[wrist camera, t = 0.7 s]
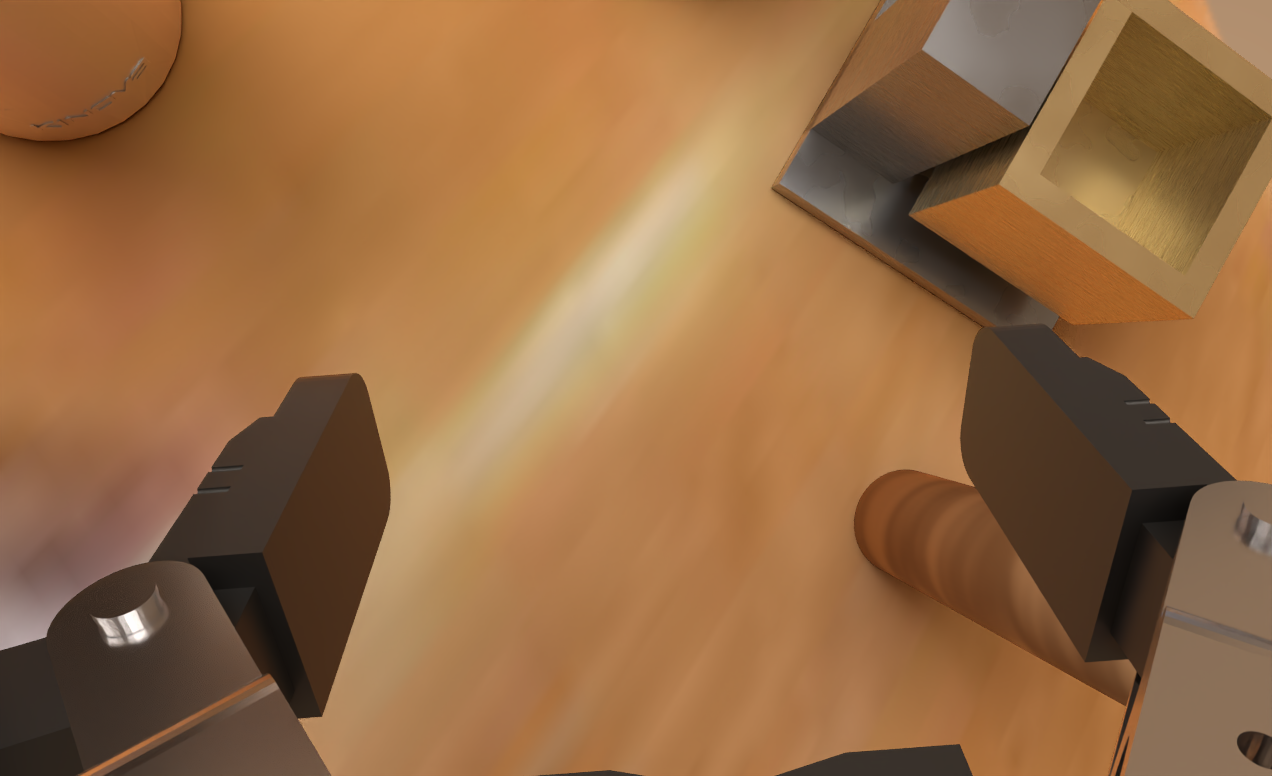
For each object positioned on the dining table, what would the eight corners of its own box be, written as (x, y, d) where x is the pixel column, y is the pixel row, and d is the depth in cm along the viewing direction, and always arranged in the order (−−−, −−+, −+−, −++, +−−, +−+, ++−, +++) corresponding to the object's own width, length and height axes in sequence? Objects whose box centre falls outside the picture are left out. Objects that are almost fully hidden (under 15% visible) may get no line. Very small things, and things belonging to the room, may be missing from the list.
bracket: (1024, 353, 37) (1216, 353, 27) (771, 188, 35) (879, 122, 25) (1136, 153, 38) (1365, 81, 28) (893, -22, 35) (1046, -166, 26)
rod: (834, 510, 36) (1350, 747, 14) (917, 449, 36) (1539, 588, 15) (890, 595, 36) (1468, 947, 15) (971, 533, 37) (1647, 788, 15)
